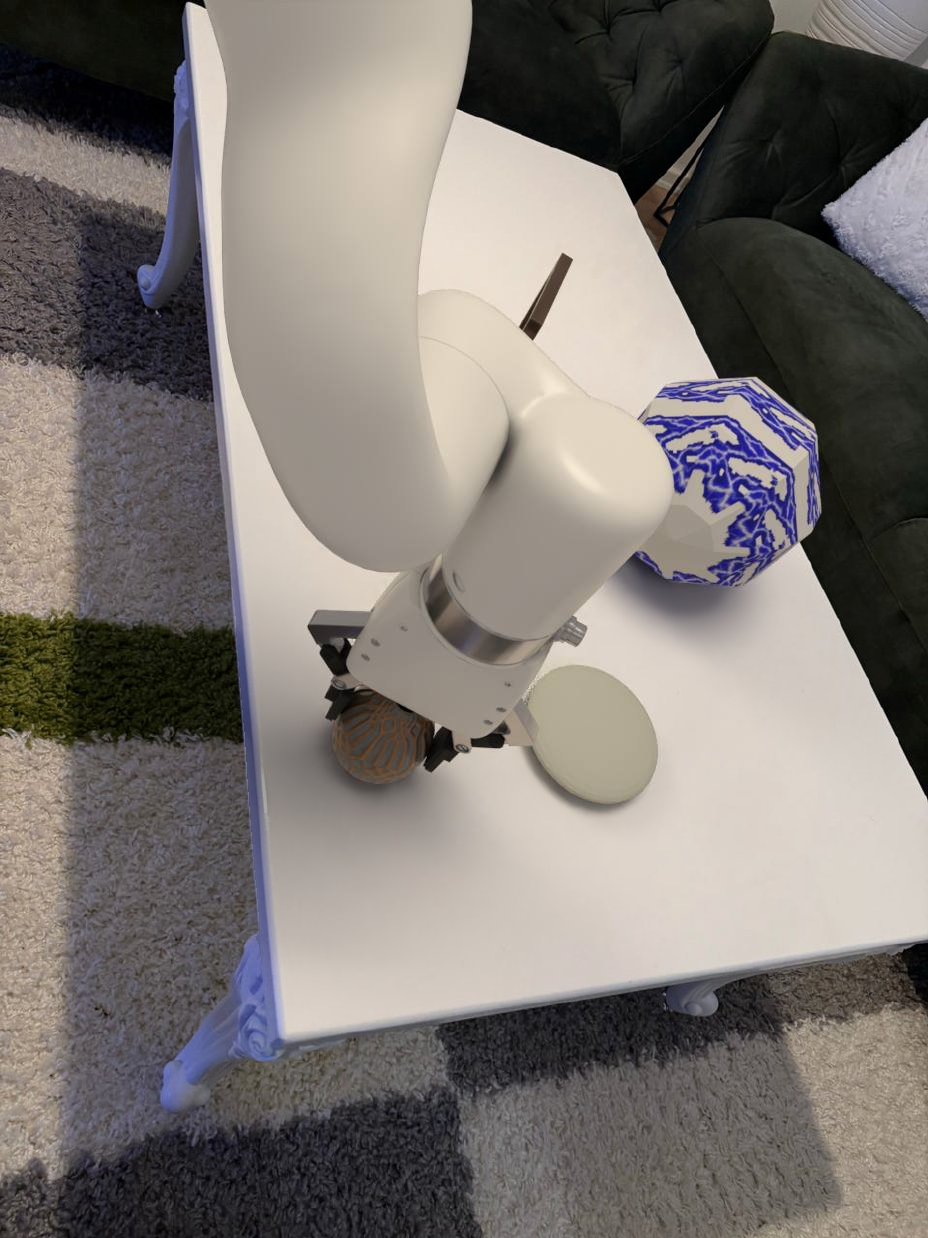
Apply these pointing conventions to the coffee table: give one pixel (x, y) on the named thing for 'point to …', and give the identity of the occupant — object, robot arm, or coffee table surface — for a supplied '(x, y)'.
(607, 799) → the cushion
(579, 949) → the coffee table surface
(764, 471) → the ornament
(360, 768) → the vase
